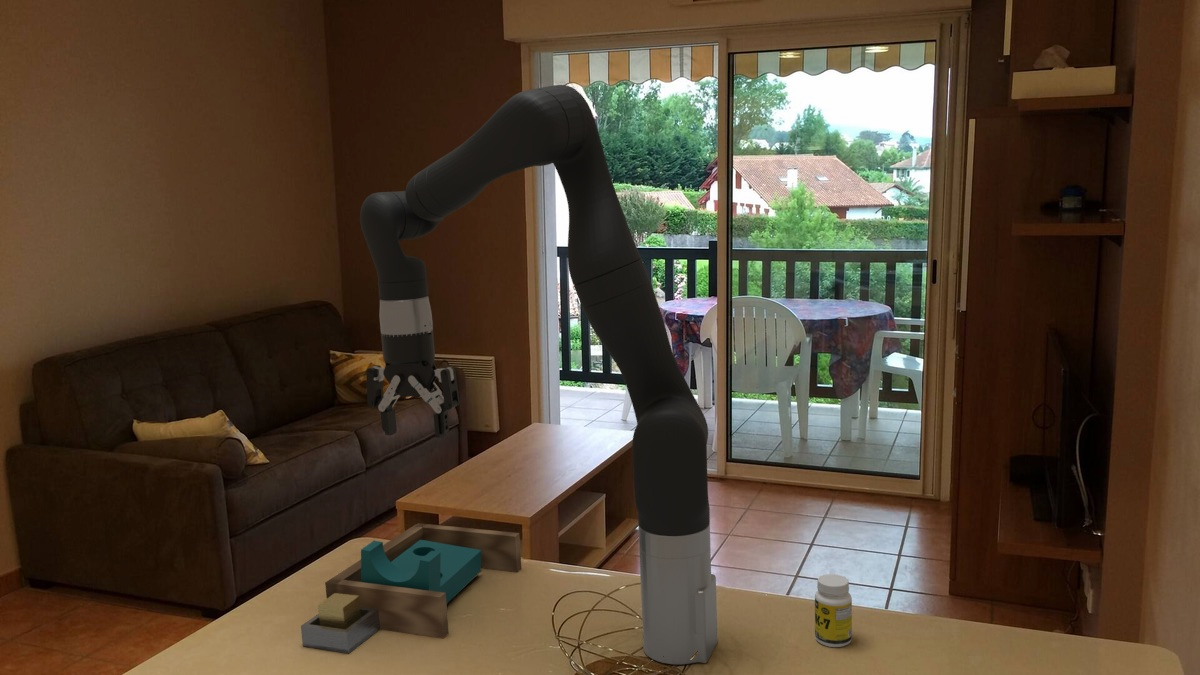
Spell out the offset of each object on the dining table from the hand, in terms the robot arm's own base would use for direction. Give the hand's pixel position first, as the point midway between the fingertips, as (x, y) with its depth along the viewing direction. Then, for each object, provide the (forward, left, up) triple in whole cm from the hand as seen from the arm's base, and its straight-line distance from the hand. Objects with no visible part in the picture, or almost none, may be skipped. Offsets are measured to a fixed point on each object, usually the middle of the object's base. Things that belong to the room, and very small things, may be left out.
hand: (416, 435), depth 144 cm
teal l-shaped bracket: (0, +1, -25) cm, 25 cm away
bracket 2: (0, 0, -25) cm, 25 cm away
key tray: (+4, +16, -25) cm, 30 cm away
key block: (+4, +16, -25) cm, 30 cm away
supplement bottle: (-61, -1, -25) cm, 66 cm away
